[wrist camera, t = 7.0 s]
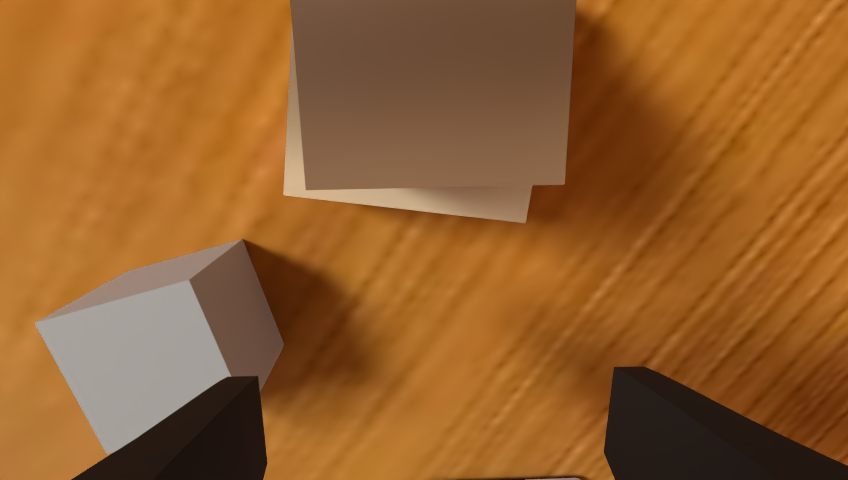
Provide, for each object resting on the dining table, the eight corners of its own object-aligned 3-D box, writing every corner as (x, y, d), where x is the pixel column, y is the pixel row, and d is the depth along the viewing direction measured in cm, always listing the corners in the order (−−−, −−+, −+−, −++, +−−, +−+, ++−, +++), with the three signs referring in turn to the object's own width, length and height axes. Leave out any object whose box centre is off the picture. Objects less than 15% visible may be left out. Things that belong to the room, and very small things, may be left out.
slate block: (284, 344, 20) (248, 415, 15) (176, 374, 20) (106, 454, 15) (243, 238, 19) (188, 279, 14) (127, 270, 19) (34, 323, 14)
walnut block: (502, 159, 15) (564, 184, 9) (345, 162, 15) (306, 190, 9) (506, -14, 13) (583, -115, 8) (335, -13, 13) (280, -115, 7)
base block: (500, 202, 19) (525, 223, 15) (307, 178, 19) (283, 194, 15) (536, -7, 17) (575, -43, 13) (321, -40, 17) (297, -88, 13)
